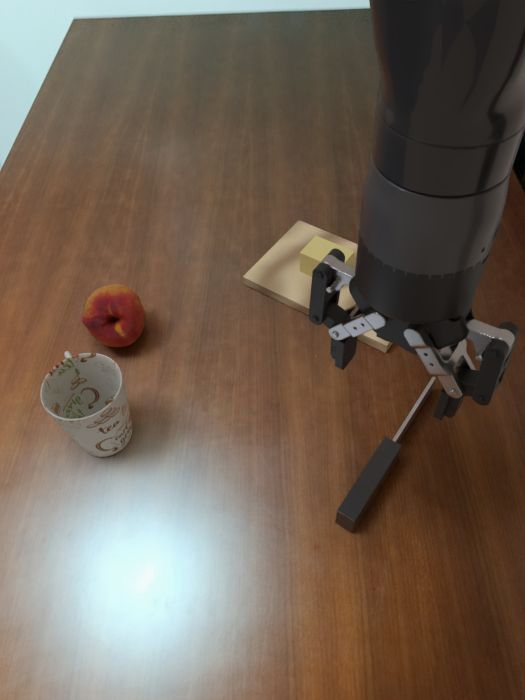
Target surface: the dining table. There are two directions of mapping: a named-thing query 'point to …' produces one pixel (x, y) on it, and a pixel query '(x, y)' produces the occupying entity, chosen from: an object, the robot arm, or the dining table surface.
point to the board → (300, 275)
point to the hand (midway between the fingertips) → (392, 385)
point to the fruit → (114, 315)
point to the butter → (320, 254)
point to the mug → (89, 402)
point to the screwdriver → (376, 471)
